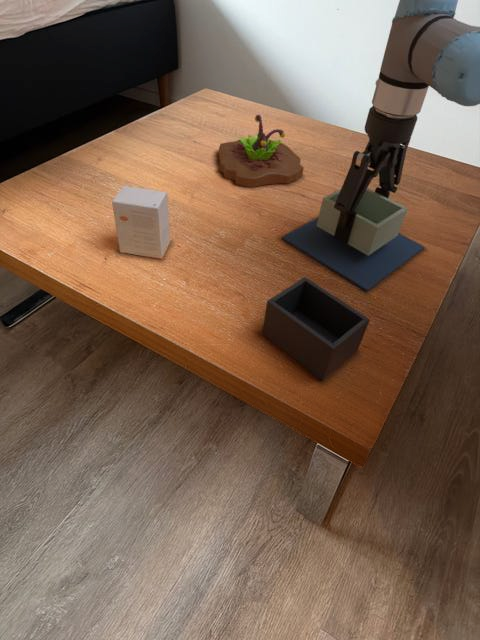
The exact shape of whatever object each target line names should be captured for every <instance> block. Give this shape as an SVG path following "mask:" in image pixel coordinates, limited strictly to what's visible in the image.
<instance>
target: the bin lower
mask: <svg viewBox="0 0 480 640" xmlns="http://www.w3.org/2000/svg"><path fill="white" fill-rule="evenodd" d="M370 320H371V318H369V317H367V316H366V315H365V314H363V313H361V312H360V311H358V310H357V309H355V308H354V307H352V306H351V305H349V304H348V303H346V302H345V301H343V300H341V299H339V298H338V297H336V296H335V295H334V294H332V293H331V292H329V291H327V290H326V289H325V288H323V287H321V286H320V285H318V284H317V283H315V282H314V281H312V280H311V279H310V278H308V277H306V276H304V277H302V278H301V279H299V280H297V282H294V283H293V284H292V285H290V286H289V287H287V288H285V289H284V290H282V291H280V292H279V293H278V294H276V295H274V296H273V297H272V298H269V299H268V300H267V301H266V307H265V314H264V319H263V327H262V332H261V334H262V336H264V337H265V338H266V339H268V340H269V341H270V342H271V343H273V344H274V345H276V346H277V347H278V348H279V349H281V351H283V352H284V353H286V354H287V355H288V356H290V357H291V358H292V359H293V360H294V361H296V362H298V364H300V365H301V366H302V367H304V368H305V369H307V370H308V371H309V372H310V373H312V374H313V375H314V376H315V377H316V378H318V379H319V380H320V381H322V382H324V381H325V380H326V379H327V378H328V377H329V376H331V375H332V374H333V373H334V372H335V371H337V369H339V368H340V367H341V366H343V365H344V363H346V362H347V361H348V360H349V359H351V358H352V357H353V356H354V355H355V354H357V353H358V350H359V349H360V346H361V343H362V341H363V338H364V335H365V334H366V331H367V329H368V325H369V323H370Z"/></svg>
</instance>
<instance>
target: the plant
mask: <svg viewBox="0 0 480 640" xmlns="http://www.w3.org/2000/svg"><path fill="white" fill-rule="evenodd" d="M254 121H255V122H256V123H258V133H256V135H255V137H254V136H253V135H251V134H248V135H247V137H248V138H245V137H240V136H239V137H238V139H237V140H235V141H234V140H233V141H227V142H221V143H220V144H219V147H218V157H219V172H220V173H222V174H223V177H224V178H225V179H226V180H227V179H228V180H231V181H234V183H235V185H239V186H241V187H244V188H245V187H246V188H255V187H260V186H265V185H277V184H282V185H283V184H286V185H288V184H290V183H292V182H295V181H297V180H298V179H299V178H301V177H303V174H304V168H305V167H304V166H302V165H301V161H302V159H301V157H300V156H298V154H296V153H295V152H294V151H293V150H292V149H291V148H290V147H289V146H288V145H287V144H285V143H283V142H282V140H281V139H278V140H272V139H270V137H271V136H272V135H274V134H275V133H278V136H279V137H280V138H282V139H283V138H285V136H286V132H285V131H284V130H283V129H281V128H280V129H279V128H277V129H273V130H271V131H270V132H269V133H268V134H266V133H264V125H263V120H262V116H261V114H256V115H255V116H254Z"/></svg>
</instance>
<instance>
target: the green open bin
mask: <svg viewBox="0 0 480 640" xmlns="http://www.w3.org/2000/svg"><path fill="white" fill-rule="evenodd" d="M340 191H341V188H340V189H338V190H336V191H334V192H332V193H329V194H328V195H326V196H324V197H322V200H321V205H320V208H319V209H320V210H319V213H318V216H317V218H318V222H317V226H318V227H319V228H321V229H323V230H325V231H326V232H328V233H330V234H331V235H333V236H334V234H335V231H336V227H337V223H338V220H339V216H340V212H341V211H339V210H337V209H335V208H334V205H335V203H336V200H337V198H338V196H339V193H340ZM408 210H409V208H408V207H406V206H404V205H402V204H400V203H398V202H396V201H394V200H392V199H391V198H386V197H384V196H382V195H380V194H378V193H376V192H375V190H372V189H369V188H368V187H367V189H366V191H365V193H364V195H363V196H362V198H361V200H360V202H359V204H358V205H357V207H356V209H355V211H356V212H357V214H356V217H355V220H354V224H353V227H352V230H351V234H350V237H349V240H348V243H347V244H349V245H350V246H352V247H354V248H356V249H357V250H359V251H361V252H362V253H364V254H366V255H368V256H369V255H370V254H371V253H373V252H374V251H376V250H377V249H379V248H380V247H382V246H383V245H385V244H386V243H388V242H389V241H391V240H392V239H393V238H395V237H396V236H398V233H400V231H401V228H402V225H403V224H404V220H405V218H406V215H407V212H408Z"/></svg>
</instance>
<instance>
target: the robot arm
mask: <svg viewBox="0 0 480 640" xmlns="http://www.w3.org/2000/svg"><path fill="white" fill-rule="evenodd" d="M458 2H459V0H399V1H398V4H397V7H396V11H395V14H394V17H393V18H392V20H391V27H390V30H389V34H388V38H387V41H386V46H385V49H384V53H383V57H382V61H381V65H380V69H379V74H378V78H377V79H376V80H375V89H374V92H373V95H372V99H371V104H372V106H370V107H369V110H368V113H367V117H366V120H365V125H364V133H365V134H366V135H367V136H368V141H367V144H366V146H365V148H364V151H362V152H361V151H358V150H356V151H354V153H353V155H352V159H351V163H350V166H349V169H348V171H347V174H346V177H345V178H344V181H343V182H342V186H341V188H340V189H341V191H340V193H339V196H338V198H337V200H336V203H335V205H334V208H335V209H337V210H339V211H341V212H340V216H339V220H338V223H337V227H336V231H335V234H334V238H335V239H337V240H339V241H340V242H342V243H344V244H347V243H348V240H349V237H350V234H351V230H352V227H353V224H354V220H355V217H356V214H357V212H356V211H355V209H356V207H357V205H358V204H359V202H360V200H361V198H362V196H363V195H364V193H365V191H366V189H367V188H368V187H369V186H370V185H371V182H372V180H373V179H374V178H377V176H378V183H379V184H378V186H377V187H375V190H374V192H376V193H378V194H380V195H382V196H384V197H386V198H388V199H390V198H389V197H390V195H391V193H393V194H395V193H397V191H398V187H397V186H398V185H399V184H400V182H401V179H402V174H403V170H404V164H405V159H406V155H407V151H408V147H409V145H410V142H411V139H412V135H413V133H414V130H415V127H416V124H417V121H418V116H417V115H418V114H420V113H421V111H422V108H423V105H424V103H425V99H426V96H427V93H428V90H429V88H432V89H433V90H435V91H436V92H437V94H438V95H440V96H441V97H442V98H444V99H446V100H447V101H450V102H453V103H455V104H457V105H460V106H463V107H476V106H478V105H480V26H476V25H471V24H468V23H465V22H462V21H460V20H457V19H456V18H455V16H456V10H457V7H458V6H457V5H458Z"/></svg>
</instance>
